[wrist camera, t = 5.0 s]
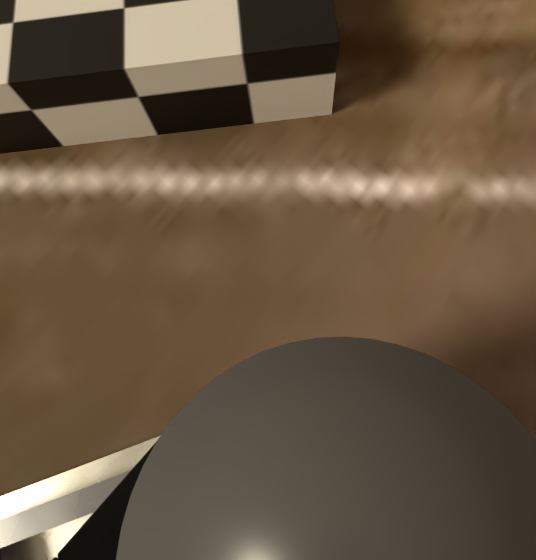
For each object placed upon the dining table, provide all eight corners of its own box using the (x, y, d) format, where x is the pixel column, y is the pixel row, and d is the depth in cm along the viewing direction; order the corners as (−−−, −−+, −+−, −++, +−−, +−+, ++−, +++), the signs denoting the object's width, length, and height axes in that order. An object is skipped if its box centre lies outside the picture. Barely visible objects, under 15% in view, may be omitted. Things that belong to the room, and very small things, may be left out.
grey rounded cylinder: (426, 486, 15) (735, 654, 4) (299, 590, 14) (298, 1080, 4) (328, 358, 16) (380, 247, 6) (209, 447, 16) (23, 508, 5)
